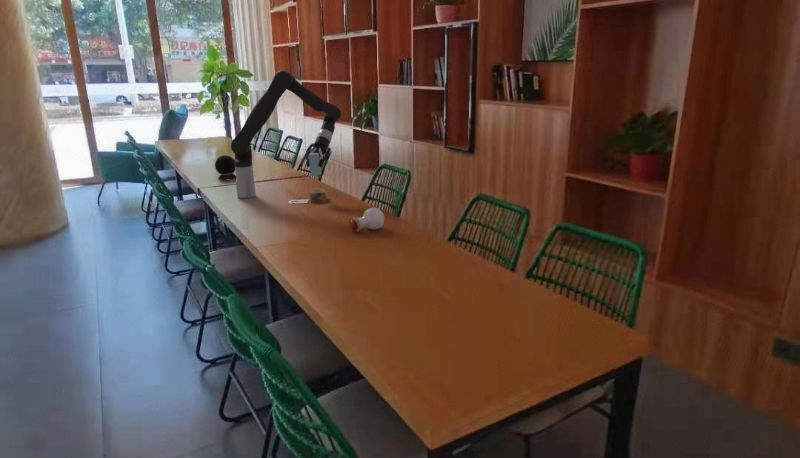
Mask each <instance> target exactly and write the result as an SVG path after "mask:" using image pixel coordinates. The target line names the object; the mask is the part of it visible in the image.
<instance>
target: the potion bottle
mask: <svg viewBox="0 0 800 458" xmlns="http://www.w3.org/2000/svg"><path fill="white" fill-rule="evenodd" d="M348 220H349V223H348V224H349V227H350V229H351V231H352V233H353V234H354V233H355V232H357V233H359V232H360V231H361V229H363V228H365V227H366V228H368V229H369V230H371V231H372V230H373V231H374V230H375V231H376V230H378V229H380V228H382V227H383V225H384V223H385V215H384V213H383V211H382V210H381V209H379V208H378V207H369V208H368V209H366V210H365V211H364V213H363V216H362V217H361V216H360V217H356V216H353V218H352V219H351V218H348Z"/></svg>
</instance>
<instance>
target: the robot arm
mask: <svg viewBox="0 0 800 458" xmlns="http://www.w3.org/2000/svg"><path fill="white" fill-rule="evenodd" d="M286 90H288V91H289V92H290V93H291V92H292V94H294V95H295V96H296V97H297V98H299V99H300V100H301V101H302V102H304V103H305V104H306V105H307V106H309V107H310V108H312V110H313V111H315V112H316V113H324V116H323V119H322V120H323V121H322V124H321V127H320V129H319V132H318V133H317V136H316V138H315V141H314V144H313V147H312V148H310V147H308V148H307V149H306V151H305V152H306V153H305V156H304V157H305V158H306V163H305V164H306V166H307V167H309V168H310V164H309V154H310V153H319V154H320V161H319V164H318V166H319V167H321V168H322V167H323V164H324V163H325V161H329V159H330V157H331V155H332V153H333V151H332V150H331V149H330V148H329V147H330V144H331V141H332V138H333V135H334V133H335V129H336V127H335V124H336V123H337V121H338V120H339V119H340V118H341V116H342V111H341V109H340V108H339V107H338V106H337V105H335V104H332V103H330V102H328V101H325V100H324V99H322V98H321V97H320V96H319V95H317V94H315V93H314V92H313V91H311V90H310V89H308V88H306V87H305V86H304V85H303V84H301V83H300V82H299V81H298V80H297V79H296V78H295V77H294V76H293V75H292V74H291V73H290V71H288V70H286V69H280V70H278V71H276V73H275V74H274V77H273V79H272V81H271V83H270V84H269V86H268V88H267V90H266V91H265V93H264V94H263V95H262V96H261V97H260V98H259V100H258V101H257V102H256V104H255V105H254V107H253V108H252V110H251V111H250V113H249V115H248V117H247V118H246V120H245V123H244V124H243V127H242V128H241V129H240V131H239V132H238V133H237V135H235V137H234V138H233V139H232V140H231V143H230V149H231V151H232V153H234V160H235V161H234V164H235V171H234V172H235V176H236V178H235V179H236V180H235V188H236V194H237V195H236V196H237V198H238V199H251V198H254V197H256V196H257V194H256V192H257V191H256V184H255V178H254V177H255V176H254V169H253V151H252V141H253V139H254V137H256V135H257V134H258V133H259V132H260V130H261V129H262V128H263V127H264V125H266V123H267V122H268V120H269V119H270V117H271V115H272V114H273V112H274V111H275V109H276V106H277V104H278V102H279V100H280V99H281V97H282V96H283V94H284V93H285V92H286Z"/></svg>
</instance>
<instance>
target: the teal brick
mask: <svg viewBox="0 0 800 458" xmlns="http://www.w3.org/2000/svg"><path fill="white" fill-rule="evenodd" d="M320 159H321V157H320V154H319V153H310V154H309V164H310V166H309V173H310V177H317V176H318V177H319V176H321V175H322V166H321V167H319V166H318V164H319V161H320Z"/></svg>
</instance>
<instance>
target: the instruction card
mask: <svg viewBox="0 0 800 458" xmlns="http://www.w3.org/2000/svg"><path fill="white" fill-rule="evenodd" d="M309 200H310V198H308V199H290V200H289V201H288V202H287V204H289V205H291V204H292V203H295V204H308V202H309Z"/></svg>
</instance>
